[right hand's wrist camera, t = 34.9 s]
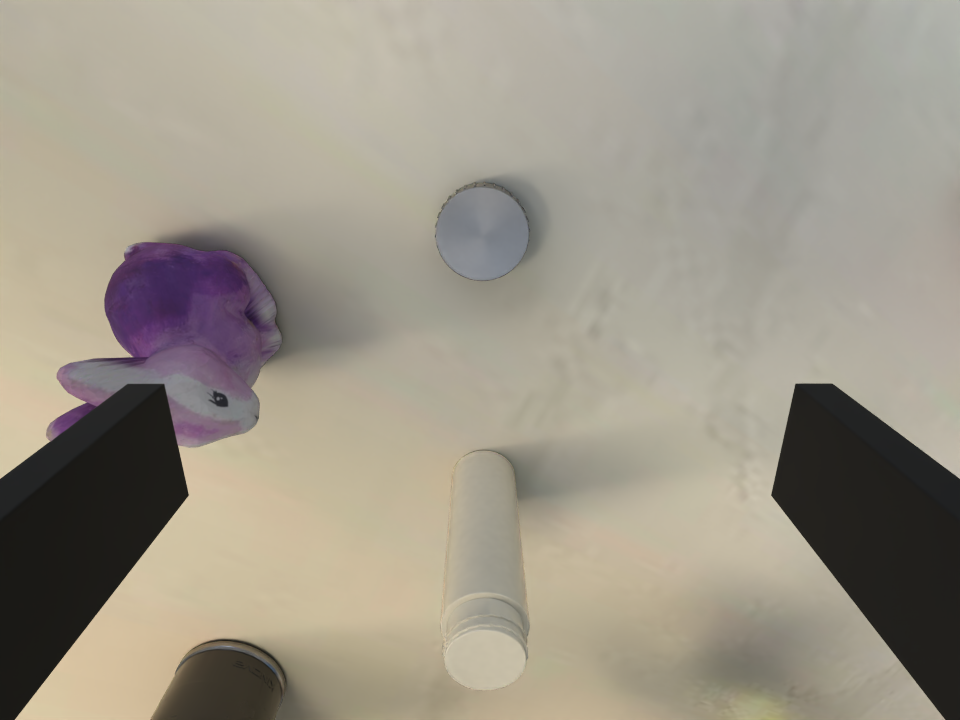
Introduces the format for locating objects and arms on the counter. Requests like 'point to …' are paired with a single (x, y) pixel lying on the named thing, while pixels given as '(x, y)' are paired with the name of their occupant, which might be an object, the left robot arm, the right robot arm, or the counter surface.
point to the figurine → (183, 340)
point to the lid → (482, 232)
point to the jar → (484, 576)
